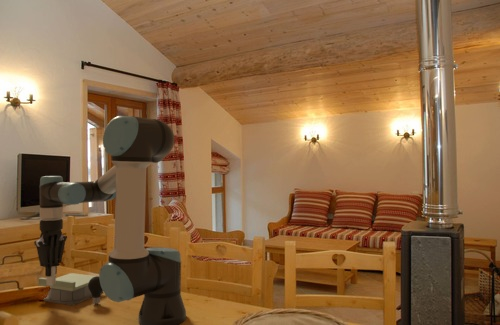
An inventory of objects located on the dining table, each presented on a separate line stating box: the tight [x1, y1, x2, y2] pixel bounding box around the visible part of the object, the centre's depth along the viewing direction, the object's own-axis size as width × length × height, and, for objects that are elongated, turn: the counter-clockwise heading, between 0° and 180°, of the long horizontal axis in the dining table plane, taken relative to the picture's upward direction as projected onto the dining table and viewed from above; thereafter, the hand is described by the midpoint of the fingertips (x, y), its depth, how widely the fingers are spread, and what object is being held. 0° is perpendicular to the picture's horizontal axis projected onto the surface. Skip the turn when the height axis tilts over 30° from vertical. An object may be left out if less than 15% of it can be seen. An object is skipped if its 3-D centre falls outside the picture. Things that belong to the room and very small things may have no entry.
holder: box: [43, 286, 104, 306], centre depth 157 cm, size 16×16×5 cm
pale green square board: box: [38, 272, 97, 291], centre depth 157 cm, size 16×16×3 cm
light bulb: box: [88, 275, 104, 306], centre depth 148 cm, size 6×6×10 cm
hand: (51, 284), depth 148 cm, fingers closed
